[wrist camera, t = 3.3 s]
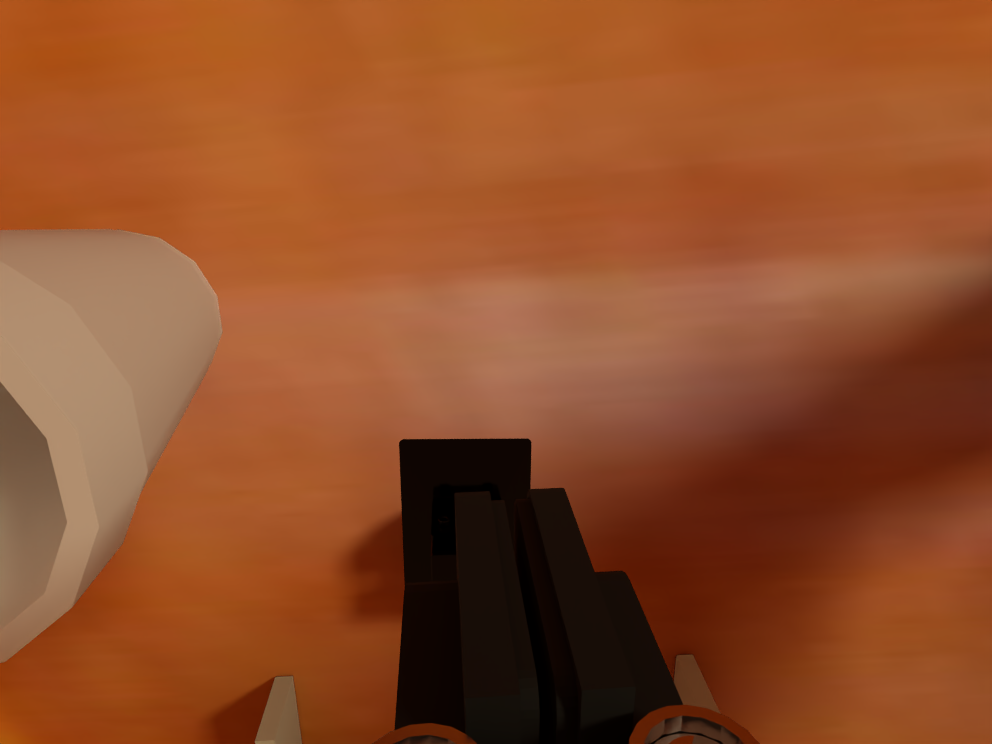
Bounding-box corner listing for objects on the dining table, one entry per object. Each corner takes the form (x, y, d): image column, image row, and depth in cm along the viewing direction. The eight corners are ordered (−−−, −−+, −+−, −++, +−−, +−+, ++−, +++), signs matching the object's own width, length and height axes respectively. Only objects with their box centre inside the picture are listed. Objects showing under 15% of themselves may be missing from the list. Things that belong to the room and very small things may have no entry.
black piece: (379, 398, 28) (366, 447, 23) (556, 395, 28) (576, 442, 24) (392, 646, 32) (383, 727, 27) (547, 639, 32) (563, 718, 28)
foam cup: (-58, 257, 24) (-582, 386, 12) (164, 136, 23) (-153, 141, 11) (109, 468, 27) (-170, 744, 15) (310, 368, 26) (190, 574, 14)
